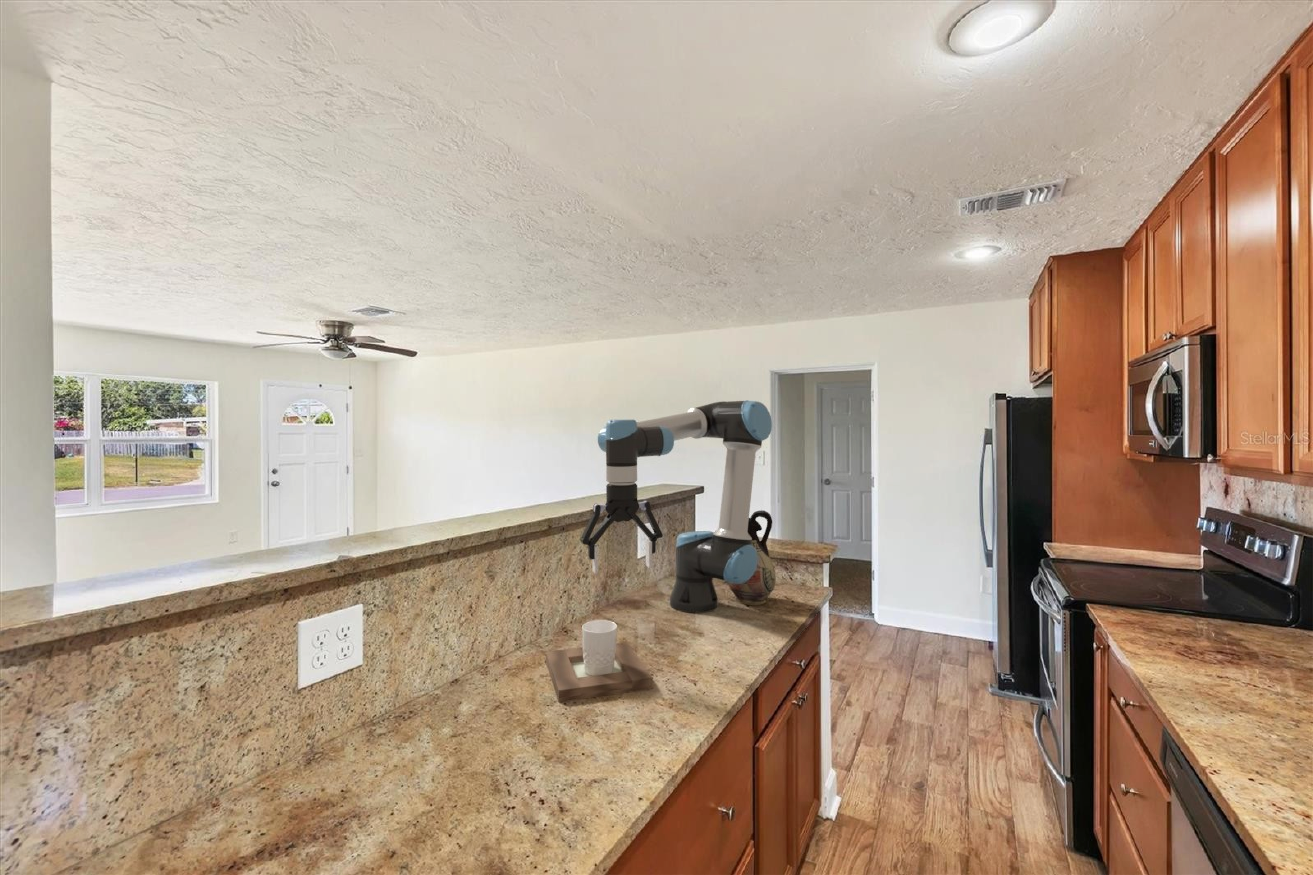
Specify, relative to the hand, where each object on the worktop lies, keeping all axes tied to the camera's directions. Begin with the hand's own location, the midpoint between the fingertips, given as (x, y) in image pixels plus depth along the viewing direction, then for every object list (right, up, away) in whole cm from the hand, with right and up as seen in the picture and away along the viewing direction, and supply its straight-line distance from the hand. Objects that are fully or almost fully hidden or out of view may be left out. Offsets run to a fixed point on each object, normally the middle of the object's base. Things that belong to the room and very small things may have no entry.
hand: (622, 569), depth 135 cm
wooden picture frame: (-5, -21, -11) cm, 24 cm away
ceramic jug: (+40, -21, +44) cm, 63 cm away
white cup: (-5, -20, -10) cm, 23 cm away
